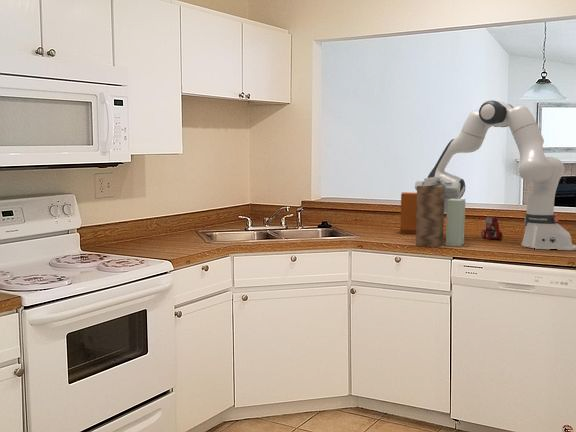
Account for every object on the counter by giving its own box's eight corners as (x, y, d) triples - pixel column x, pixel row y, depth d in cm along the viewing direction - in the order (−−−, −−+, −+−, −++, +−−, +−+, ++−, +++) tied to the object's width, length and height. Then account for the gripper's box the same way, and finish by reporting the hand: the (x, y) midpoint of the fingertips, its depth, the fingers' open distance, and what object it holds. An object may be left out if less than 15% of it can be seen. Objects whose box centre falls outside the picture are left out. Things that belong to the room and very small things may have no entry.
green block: (463, 243, 306) (465, 199, 304) (459, 246, 297) (461, 200, 295) (450, 242, 309) (451, 198, 307) (445, 245, 300) (447, 200, 298)
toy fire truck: (489, 241, 315) (490, 218, 314) (479, 237, 327) (480, 215, 326) (504, 241, 316) (505, 218, 314) (493, 237, 328) (494, 215, 327)
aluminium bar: (441, 183, 310) (441, 176, 310) (431, 185, 292) (431, 178, 292) (434, 183, 312) (434, 176, 311) (424, 185, 294) (424, 178, 293)
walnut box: (442, 244, 304) (444, 185, 301) (438, 246, 296) (440, 186, 293) (420, 242, 308) (422, 185, 305) (415, 245, 300) (417, 186, 297)
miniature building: (419, 234, 335) (420, 194, 333) (400, 234, 337) (401, 193, 335) (419, 232, 345) (420, 192, 343) (401, 231, 347) (401, 192, 344)
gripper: (419, 186, 322) (412, 173, 310) (463, 187, 313) (458, 173, 302) (417, 198, 319) (410, 185, 308) (461, 200, 311) (456, 186, 299)
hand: (434, 179), depth 305 cm, fingers closed on aluminium bar, 3 cm apart
